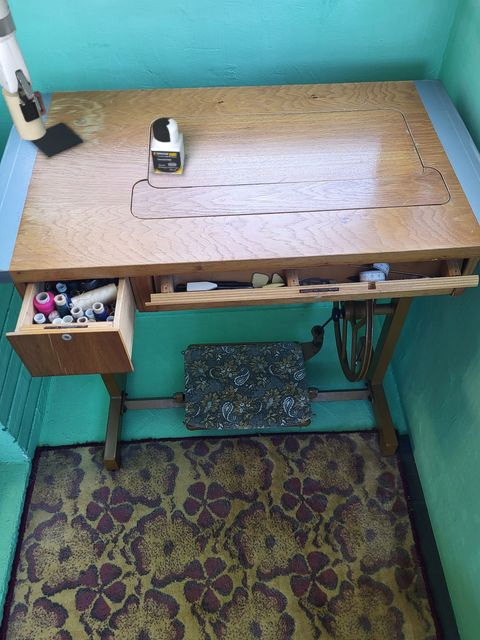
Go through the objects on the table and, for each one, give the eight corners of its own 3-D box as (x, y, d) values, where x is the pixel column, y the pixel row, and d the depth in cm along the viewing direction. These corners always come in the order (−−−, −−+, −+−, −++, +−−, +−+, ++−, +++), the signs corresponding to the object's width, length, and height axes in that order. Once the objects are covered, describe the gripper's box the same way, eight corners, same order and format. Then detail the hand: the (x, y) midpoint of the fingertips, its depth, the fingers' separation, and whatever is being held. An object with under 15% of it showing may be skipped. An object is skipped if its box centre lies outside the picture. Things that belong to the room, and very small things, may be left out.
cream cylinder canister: (26, 143, 115) (10, 100, 107) (13, 130, 117) (-4, 87, 109) (57, 131, 118) (43, 88, 109) (43, 118, 120) (29, 75, 112)
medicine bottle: (154, 173, 133) (147, 131, 123) (157, 155, 137) (151, 113, 127) (182, 174, 133) (178, 132, 123) (184, 156, 137) (180, 114, 127)
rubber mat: (48, 157, 135) (48, 155, 134) (29, 139, 139) (28, 136, 138) (82, 142, 139) (81, 139, 138) (62, 124, 142) (61, 122, 142)
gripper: (-47, 10, 100) (-10, 100, 115) (-5, 48, 93) (28, 138, 108) (-10, 0, 103) (21, 88, 118) (34, 36, 96) (61, 124, 111)
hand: (24, 111), depth 113 cm, fingers closed on cream cylinder canister, 6 cm apart
